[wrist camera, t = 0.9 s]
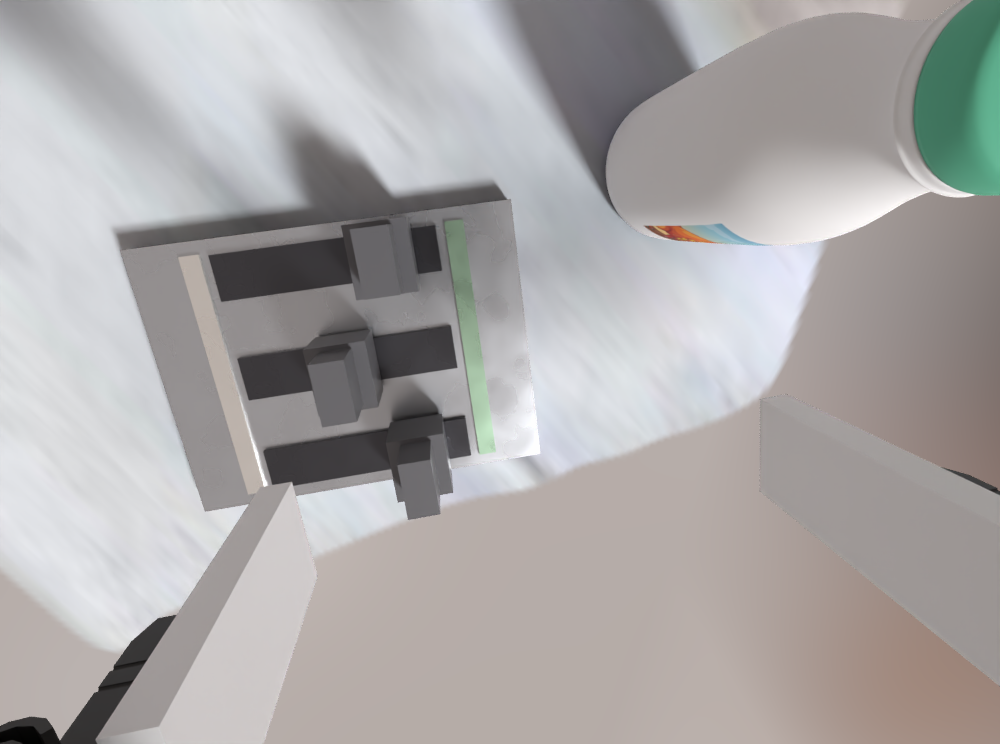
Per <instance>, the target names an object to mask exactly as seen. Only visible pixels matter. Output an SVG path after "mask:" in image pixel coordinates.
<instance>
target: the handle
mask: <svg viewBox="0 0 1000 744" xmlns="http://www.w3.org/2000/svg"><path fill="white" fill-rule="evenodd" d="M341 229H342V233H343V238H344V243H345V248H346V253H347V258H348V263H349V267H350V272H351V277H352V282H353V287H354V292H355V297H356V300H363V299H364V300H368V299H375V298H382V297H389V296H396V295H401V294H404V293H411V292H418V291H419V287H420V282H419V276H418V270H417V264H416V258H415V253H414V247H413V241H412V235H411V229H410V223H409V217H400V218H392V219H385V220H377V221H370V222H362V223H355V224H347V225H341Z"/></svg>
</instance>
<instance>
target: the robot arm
mask: <svg viewBox="0 0 1000 744" xmlns="http://www.w3.org/2000/svg"><path fill="white" fill-rule="evenodd" d="M760 492H761V493H762V494H764V495H765V496H766V497H767V498H768V499H770V500H771V501H772V502H773V503H775V504H776V505H777V506H778V507H780V508H781V509H782V510H783V511H785V512H786V513H787V514H788V515H790V516H791V517H792V518H793V519H795V520H796V521H797V522H798V523H799V524H801V525H802V526H803V527H804V528H805V529H807V530H808V531H809V532H810V533H812V534H813V535H814V536H815V537H816V538H818V539H819V540H820V541H821V542H823V543H824V544H825V545H826V546H828V547H829V548H830V549H831V550H833V551H834V552H835V553H836V554H837V555H839V556H840V557H841V558H842V559H844V560H845V561H846V562H847V563H849V564H850V565H851V566H852V567H853V568H855V569H856V570H857V571H858V572H860V573H861V574H862V575H863V576H864V577H866V578H867V579H868V580H870V581H871V582H872V583H873V584H874V585H876V586H877V587H878V588H879V589H881V590H882V591H883V592H884V593H886V594H887V595H888V596H889V597H890V598H892V599H893V600H894V601H895V602H897V603H898V604H899V605H900V606H902V607H903V608H904V609H905V610H907V611H908V612H909V613H910V614H911V615H913V616H914V617H915V618H916V619H917V620H919V621H920V622H921V623H923V624H924V625H925V626H926V627H927V628H929V629H930V630H931V631H932V632H933V633H935V634H936V635H937V636H938V637H940V638H941V639H942V640H943V641H945V642H946V643H947V644H948V645H950V646H951V647H952V648H953V649H954V650H956V651H957V652H958V653H960V654H961V655H962V656H963V657H964V658H965V659H967V660H968V661H969V662H970V663H972V664H973V665H974V666H975V667H977V668H978V669H979V670H980V671H981V672H983V673H984V674H985V675H986V676H988V677H989V678H990V679H991V680H993V681H994V682H995V683H996V684H998V685H999V686H1000V491H998V490H997V488H996V487H993V486H992V485H989V484H987V483H985V482H983V481H981V480H978V479H977V478H974V477H972V476H970V475H967V474H964V473H960V472H956V471H953V470H950V469H946V468H942V467H939V466H937V465H935V464H933V463H931V462H929V461H927V460H924V459H922V458H920V457H918V456H916V455H914V454H912V453H910V452H908V451H906V450H903V449H901V448H899V447H897V446H895V445H893V444H891V443H888V442H887V441H885V440H882V439H880V438H878V437H876V436H874V435H872V434H870V433H868V432H866V431H864V430H861V429H859V428H857V427H855V426H853V425H851V424H849V423H847V422H845V421H842V420H840V419H838V418H836V417H834V416H832V415H830V414H828V413H826V412H824V411H822V410H819V409H817V408H815V407H813V406H811V405H809V404H807V403H805V402H803V401H800V400H798V399H796V398H794V397H792V396H790V395H788V394H785V395H780V396H774V397H769V398H763V399H760ZM317 577H318V575H317V572H316V568H315V564H314V561H313V557H312V553H311V550H310V546H309V542H308V539H307V535H306V531H305V528H304V524H303V521H302V517H301V513H300V510H299V506H298V502H297V499H296V495H295V491H294V488H293V484H292V482H287V483H282V484H276V485H270V486H265V487H260V488H259V490H258V491H257V493H256V494H255V496H254V497H253V499H252V500H251V502H250V504H249V505H248V507H247V508H246V510H245V511H244V513H243V514H242V516H241V517H240V519H239V520H238V522H237V523H236V525H235V526H234V528H233V530H232V531H231V533H230V534H229V536H228V537H227V539H226V540H225V542H224V543H223V545H222V546H221V548H220V549H219V551H218V553H217V554H216V556H215V557H214V559H213V560H212V562H211V563H210V565H209V566H208V568H207V569H206V571H205V572H204V574H203V576H202V577H201V579H200V580H199V582H198V583H197V585H196V586H195V588H194V589H193V591H192V592H191V594H190V595H189V597H188V599H187V600H186V602H185V603H184V605H183V606H182V608H181V609H180V611H179V613H178V614H177V615H173V616H168V617H163V618H158V619H157V620H156V621H154V622H153V623H152V624H151V625H150V626H149V627H147V628H146V629H145V630H144V631H143V632H142V633H141V634H139V635H138V636H137V637H136V638H135V639H134V640H133V641H131V643H130V644H129V646H128V647H127V648H126V650H125V651H124V652H123V654H122V655H121V657H120V658H119V660H118V661H117V662H116V664H115V665H114V670H113V671H110V672H109V673H108V675H107V676H106V678H105V679H104V680H103V682H102V683H101V685H100V686H99V687H98V688H99V691H98V692H96V693H94V694H93V696H92V697H91V698H90V700H89V701H88V703H87V704H86V705H85V707H84V708H83V710H82V711H81V712H80V714H79V715H78V716H77V718H76V719H75V721H74V722H73V723H72V725H71V726H70V728H69V729H68V730H67V732H66V733H65V734H64V736H63V737H62V739H61V740H60V741H59V739H58V737H57V734H56V733H55V730H54V729H53V727H52V725H51V724H50V723H49V721H48V720H47V719H46V718H37V717H27V718H23V719H20V720H15V721H11V722H8V723H6V724H3V725H1V726H0V744H264V741H265V737H266V734H267V731H268V728H269V725H270V722H271V719H272V716H273V713H274V710H275V707H276V704H277V700H278V697H279V694H280V691H281V688H282V685H283V682H284V679H285V676H286V673H287V670H288V666H289V663H290V660H291V657H292V654H293V651H294V648H295V645H296V641H297V639H298V635H299V632H300V629H301V626H302V623H303V620H304V617H305V614H306V611H307V608H308V605H309V601H310V598H311V595H312V592H313V589H314V586H315V583H316V580H317Z"/></svg>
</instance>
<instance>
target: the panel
mask: <svg viewBox="0 0 1000 744" xmlns="http://www.w3.org/2000/svg"><path fill="white" fill-rule="evenodd" d="M400 217H409V223H410V229H411V235H412V241H413V247H414V253H415V258H416V264H417V270H418V276H419V282H420V287H419V291H418V292H411V293H404V294H401V295H396V296H389V297H382V298H375V299H368V300H364V299H363V300H356V297H355V292H354V287H353V282H352V277H351V272H350V267H349V263H348V258H347V253H346V248H345V243H344V238H343V233H342V229H341V225H347V224H355V223H362V222H370V221H377V220H385V219H392V218H400ZM120 252H121V255H122V258H123V261H124V264H125V267H126V270H127V273H128V277H129V280H130V283H131V286H132V289H133V292H134V295H135V298H136V301H137V304H138V307H139V310H140V313H141V317H142V320H143V323H144V326H145V329H146V332H147V335H148V338H149V341H150V344H151V347H152V350H153V353H154V356H155V360H156V363H157V366H158V369H159V372H160V375H161V378H162V381H163V384H164V387H165V390H166V393H167V396H168V399H169V403H170V406H171V409H172V412H173V415H174V418H175V421H176V424H177V427H178V430H179V433H180V436H181V439H182V442H183V446H184V449H185V452H186V455H187V458H188V461H189V464H190V467H191V470H192V473H193V476H194V479H195V482H196V485H197V489H198V492H199V495H200V498H201V501H202V504H203V507H204V510H205V512H206V511H212V510H217V509H223V508H229V507H235V506H241V505H246V504H250V502H251V500H252V499H253V497H254V496H255V494H256V493H257V491H258V490H259V488H260V487H265V486H270V485H276V484H282V483H287V482H292V484H293V488H294V491H295V495H296V496H298V495H304V494H310V493H316V492H321V491H327V490H333V489H339V488H345V487H350V486H356V485H362V484H368V483H373V482H379V481H385V480H391V479H393V476H392V471H391V466H390V461H389V457H388V452H387V447H386V439H387V435H388V430H389V425H390V422H395V421H401V420H407V419H413V418H420V417H426V416H432V415H438V414H442V417H443V423H444V429H445V435H446V440H447V446H448V452H449V458H450V464H451V469H454V468H460V467H466V466H472V465H478V464H483V463H489V462H495V461H501V460H506V459H512V458H518V457H524V456H530V455H535V454H540V446H539V438H538V429H537V420H536V412H535V403H534V394H533V386H532V377H531V369H530V360H529V351H528V343H527V334H526V326H525V317H524V308H523V300H522V291H521V283H520V274H519V265H518V257H517V248H516V239H515V231H514V222H513V214H512V205H511V199H507V200H500V201H492V202H485V203H477V204H469V205H462V206H454V207H447V208H439V209H431V210H424V211H416V212H408V213H401V214H393V215H386V216H378V217H370V218H363V219H355V220H348V221H340V222H332V223H325V224H317V225H310V226H302V227H294V228H287V229H279V230H271V231H264V232H256V233H249V234H241V235H233V236H226V237H218V238H211V239H203V240H195V241H188V242H180V243H172V244H165V245H157V246H150V247H142V248H134V249H127V250H120ZM368 329H371V330H372V335H373V340H374V345H375V350H376V355H377V360H378V365H379V370H380V375H381V380H382V385H383V393H382V396H381V400H380V403H379V407H377V408H371V409H364V410H361V413H360V416H359V418H358V421H357V422H353V423H347V424H341V425H335V426H329V427H323V428H322V425H321V420H320V417H319V416H318V412H317V408H316V404H315V400H314V396H313V391H312V387H311V383H310V379H309V375H308V371H307V367H306V362H305V358H304V354H303V349H304V348H305V347H306V346H307V345H308V344H309V343H310V342H311V341H312V340H313V339H314V338H315V337H321V336H328V335H335V334H341V333H348V332H355V331H362V330H368Z"/></svg>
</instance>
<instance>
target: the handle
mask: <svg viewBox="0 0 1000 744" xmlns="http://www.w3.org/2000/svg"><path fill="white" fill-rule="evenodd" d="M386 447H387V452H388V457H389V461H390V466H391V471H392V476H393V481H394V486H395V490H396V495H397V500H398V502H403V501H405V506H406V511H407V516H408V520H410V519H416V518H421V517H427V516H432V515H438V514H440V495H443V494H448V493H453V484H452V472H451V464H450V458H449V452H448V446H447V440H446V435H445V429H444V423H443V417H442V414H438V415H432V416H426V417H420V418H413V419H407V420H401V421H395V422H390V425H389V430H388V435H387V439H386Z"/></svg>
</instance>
